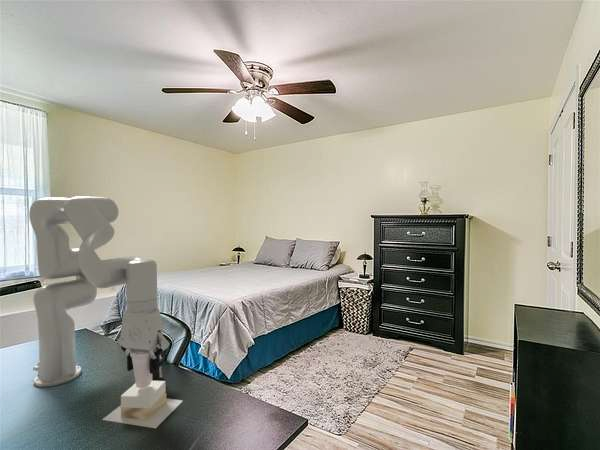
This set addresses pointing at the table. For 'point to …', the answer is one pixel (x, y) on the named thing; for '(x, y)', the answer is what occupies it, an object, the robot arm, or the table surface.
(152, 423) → the felt mat
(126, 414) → the bottom slab
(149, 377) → the smoothie
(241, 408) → the table surface
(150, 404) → the top slab
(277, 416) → the table surface
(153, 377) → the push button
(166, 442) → the table surface
